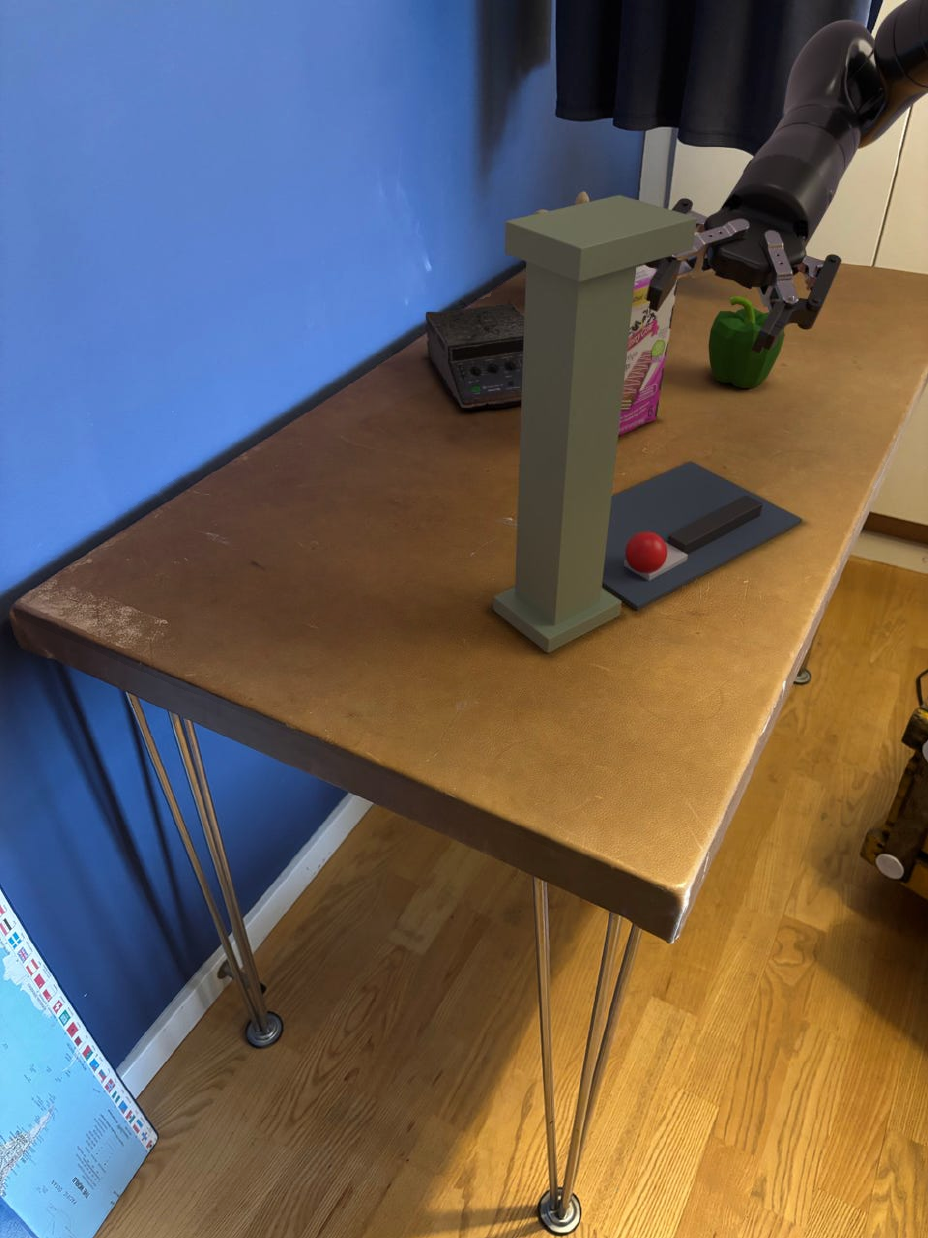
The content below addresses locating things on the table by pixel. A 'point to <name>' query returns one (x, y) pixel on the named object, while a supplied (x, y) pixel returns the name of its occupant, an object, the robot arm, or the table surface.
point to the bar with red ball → (686, 538)
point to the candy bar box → (645, 354)
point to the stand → (575, 402)
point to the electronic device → (479, 354)
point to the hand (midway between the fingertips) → (705, 322)
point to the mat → (670, 509)
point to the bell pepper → (740, 346)
